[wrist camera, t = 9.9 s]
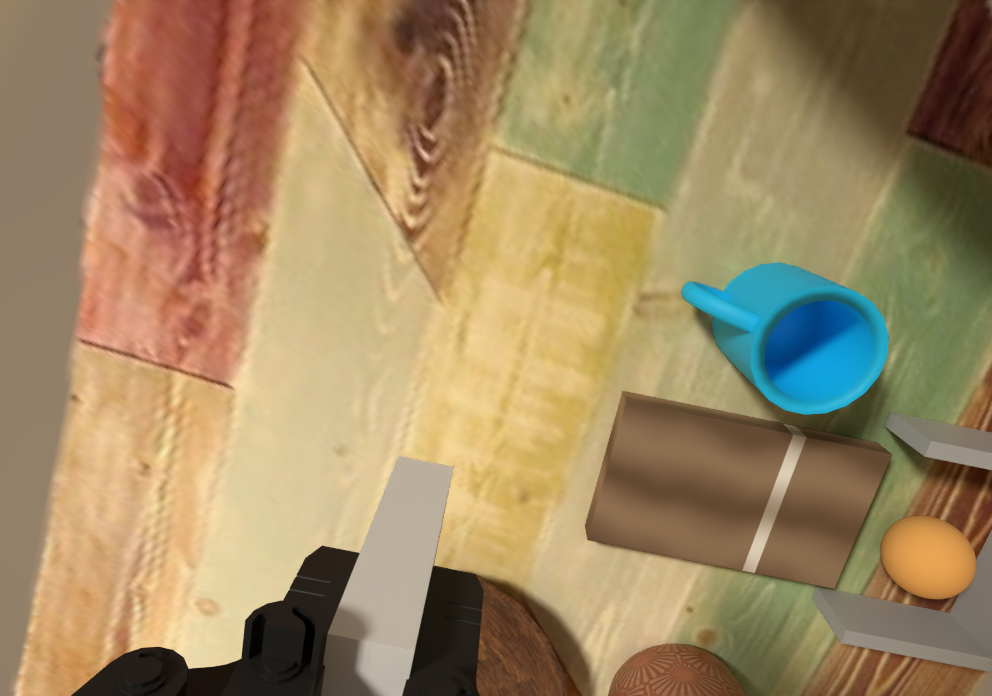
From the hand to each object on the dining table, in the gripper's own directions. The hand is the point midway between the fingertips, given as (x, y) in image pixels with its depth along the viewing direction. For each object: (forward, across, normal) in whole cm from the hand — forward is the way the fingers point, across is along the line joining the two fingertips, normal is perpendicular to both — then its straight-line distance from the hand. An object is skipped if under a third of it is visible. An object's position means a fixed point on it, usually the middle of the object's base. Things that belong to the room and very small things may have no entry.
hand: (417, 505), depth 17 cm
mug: (+31, +19, +2) cm, 36 cm away
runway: (+30, +22, -12) cm, 39 cm away
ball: (+27, +37, -13) cm, 48 cm away
